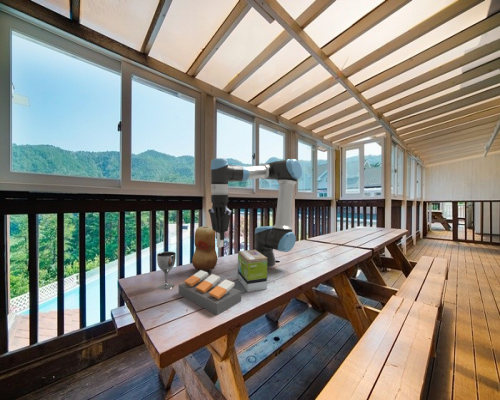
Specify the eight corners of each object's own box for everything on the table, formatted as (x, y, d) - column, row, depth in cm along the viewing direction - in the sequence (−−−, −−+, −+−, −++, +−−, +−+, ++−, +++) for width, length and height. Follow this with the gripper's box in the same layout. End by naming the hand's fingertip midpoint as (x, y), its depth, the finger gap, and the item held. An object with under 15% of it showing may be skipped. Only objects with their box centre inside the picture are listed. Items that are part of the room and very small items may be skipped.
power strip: (216, 278, 105) (216, 271, 105) (254, 293, 90) (254, 284, 90) (178, 294, 88) (178, 284, 88) (216, 315, 73) (217, 304, 73)
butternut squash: (188, 275, 109) (188, 227, 109) (196, 266, 123) (197, 224, 122) (213, 276, 108) (214, 228, 108) (219, 267, 121) (220, 225, 121)
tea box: (236, 279, 105) (237, 250, 105) (255, 277, 109) (255, 248, 108) (246, 292, 91) (247, 259, 91) (267, 289, 94) (268, 257, 94)
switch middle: (213, 277, 90) (212, 273, 90) (221, 280, 87) (220, 276, 87) (197, 291, 84) (195, 287, 83) (204, 295, 81) (203, 290, 80)
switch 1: (201, 273, 96) (200, 269, 95) (208, 276, 92) (208, 272, 92) (185, 284, 89) (184, 280, 88) (192, 288, 86) (191, 284, 85)
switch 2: (226, 283, 86) (225, 279, 85) (235, 287, 82) (234, 282, 82) (209, 296, 79) (208, 292, 78) (218, 301, 76) (217, 296, 75)
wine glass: (155, 291, 90) (155, 256, 90) (158, 283, 98) (158, 252, 98) (174, 289, 93) (174, 255, 92) (175, 282, 100) (176, 251, 100)
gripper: (203, 194, 93) (204, 246, 94) (224, 194, 85) (224, 251, 86) (215, 193, 99) (216, 242, 100) (236, 194, 91) (236, 247, 92)
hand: (220, 246), depth 93 cm, fingers closed
